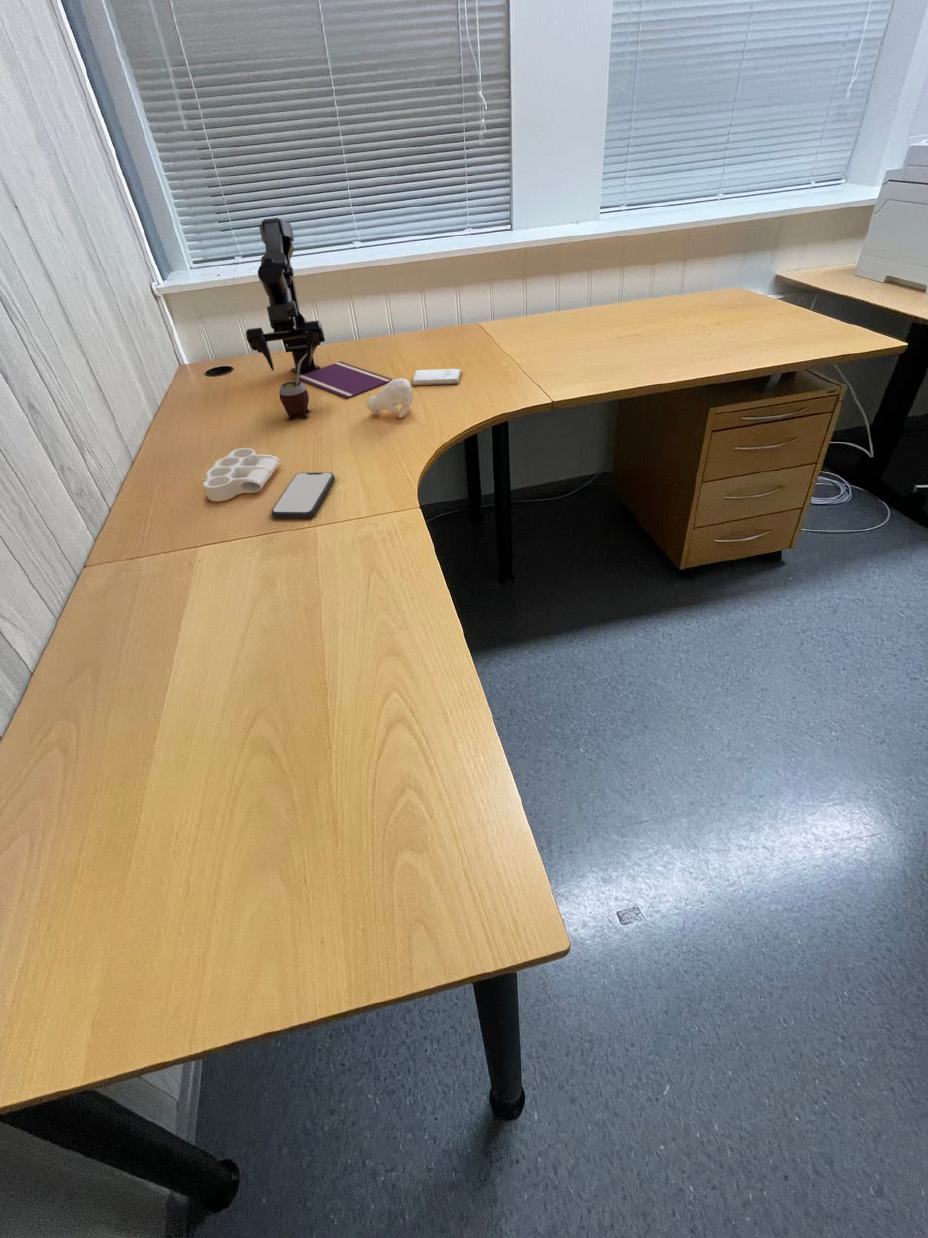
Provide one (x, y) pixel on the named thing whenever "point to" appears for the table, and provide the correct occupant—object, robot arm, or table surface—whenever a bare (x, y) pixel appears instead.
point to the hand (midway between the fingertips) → (290, 367)
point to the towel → (344, 379)
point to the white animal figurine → (392, 397)
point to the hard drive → (436, 376)
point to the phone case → (303, 495)
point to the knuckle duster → (238, 474)
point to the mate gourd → (295, 397)
